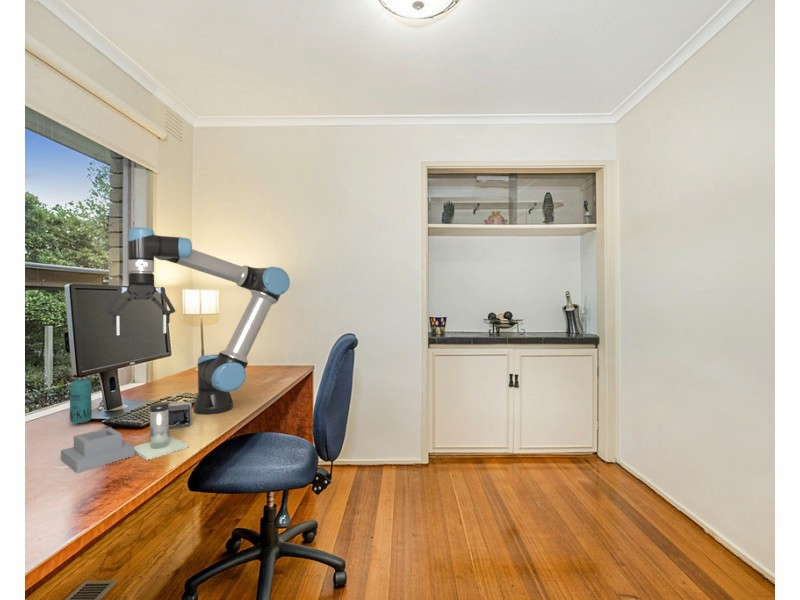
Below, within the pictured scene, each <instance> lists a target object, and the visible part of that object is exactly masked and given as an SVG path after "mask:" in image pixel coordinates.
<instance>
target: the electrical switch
mask: <svg viewBox="0 0 800 600" xmlns="http://www.w3.org/2000/svg"><path fill="white" fill-rule="evenodd" d="M168 404H169V431H170V430H177V429H178V428H179V429H185V428H186V427H188V428H189V427H190V426H191V425H192V424H193V412H192V411H193V410H192V406H193V405H192V402H190V401H187V402H175V403H168ZM186 429H187V428H186Z"/></svg>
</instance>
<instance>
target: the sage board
mask: <svg viewBox="0 0 800 600" xmlns="http://www.w3.org/2000/svg"><path fill="white" fill-rule="evenodd" d="M133 446H134V454H135V453H136V454H135V455H137V454H138V455H139V456H138V455H137V456H138V457H140V456H141V457H140V458H142V457H143V458H142V459H143V460H145V459H146V460H145V461H148V459H150V460H152V458H153V459H154V458H155V457H156V458H159V457H162V455H163V456H165V455H169V454H172V452H173V453H175V452H174V451H176V452H179V451H181V449H183V450H185V449H184V448H186V449H188V448H189V444H188V443H185V442H184V441H181V440H180V439H177V438H175V437H173V436H170V435H169V445H168V446H167V447H164V448H161V449H151V448H150V441H149V442H145V443H142V444H138V445H133ZM187 447H188V448H187ZM178 450H179V451H178ZM156 458H155V459H156Z"/></svg>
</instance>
